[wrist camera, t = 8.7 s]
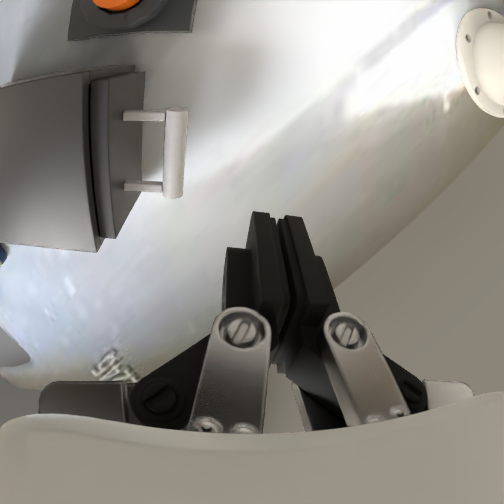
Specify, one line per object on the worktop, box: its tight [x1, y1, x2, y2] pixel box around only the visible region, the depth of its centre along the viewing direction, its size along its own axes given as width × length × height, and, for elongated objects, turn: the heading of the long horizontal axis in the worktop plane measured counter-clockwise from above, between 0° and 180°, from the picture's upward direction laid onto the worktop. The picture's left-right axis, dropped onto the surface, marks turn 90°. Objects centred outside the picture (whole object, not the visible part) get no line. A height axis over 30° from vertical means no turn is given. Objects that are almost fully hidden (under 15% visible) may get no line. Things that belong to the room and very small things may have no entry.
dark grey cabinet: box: [0, 64, 135, 252], centre depth 17 cm, size 14×12×9 cm
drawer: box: [88, 72, 189, 239], centre depth 17 cm, size 17×10×7 cm, turn 81°
